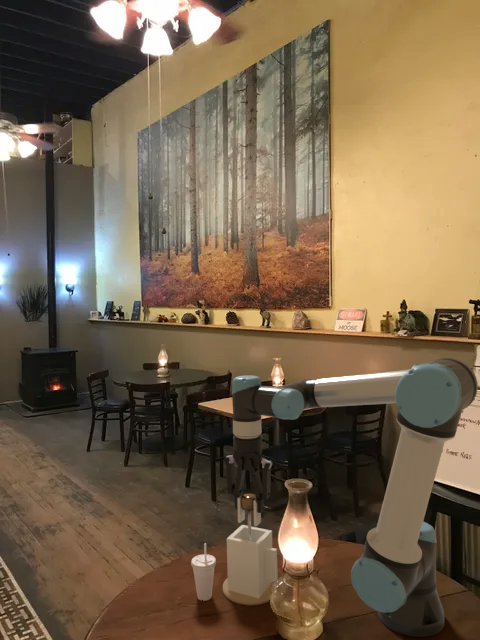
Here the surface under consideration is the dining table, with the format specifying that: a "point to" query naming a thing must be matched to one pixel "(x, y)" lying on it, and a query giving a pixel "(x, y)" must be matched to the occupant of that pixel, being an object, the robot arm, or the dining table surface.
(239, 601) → the press
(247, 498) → the plunger
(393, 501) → the robot arm
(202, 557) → the smoothie
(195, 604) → the dining table surface
